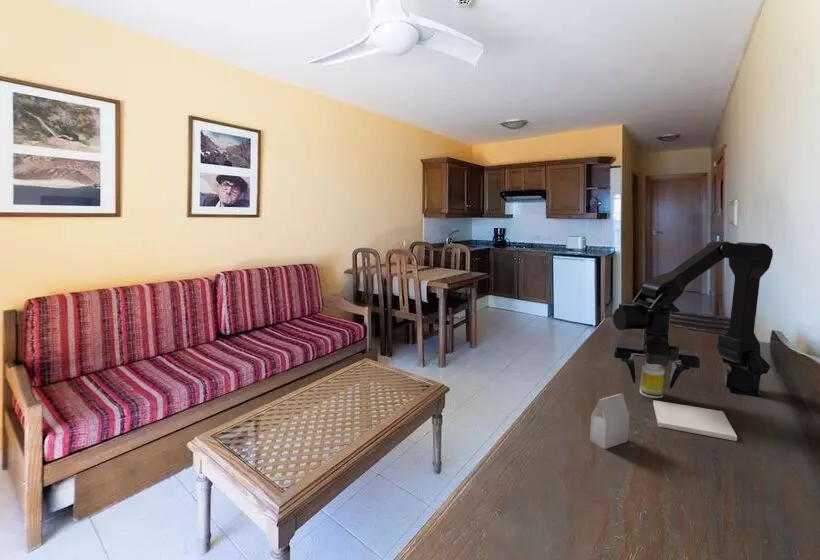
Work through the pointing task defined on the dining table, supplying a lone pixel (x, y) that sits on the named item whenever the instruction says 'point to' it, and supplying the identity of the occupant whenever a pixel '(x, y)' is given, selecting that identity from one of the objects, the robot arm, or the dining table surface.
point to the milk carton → (610, 422)
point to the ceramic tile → (693, 420)
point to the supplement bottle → (652, 380)
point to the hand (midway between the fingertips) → (651, 385)
